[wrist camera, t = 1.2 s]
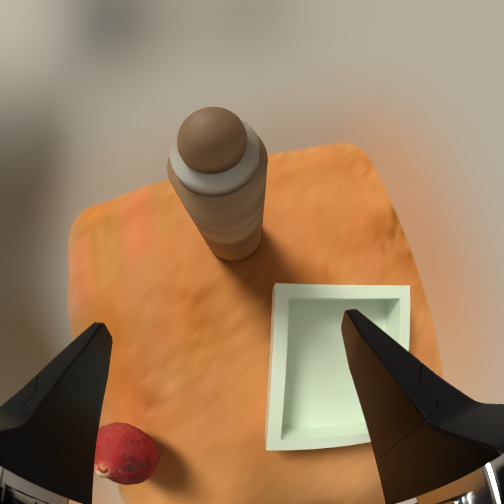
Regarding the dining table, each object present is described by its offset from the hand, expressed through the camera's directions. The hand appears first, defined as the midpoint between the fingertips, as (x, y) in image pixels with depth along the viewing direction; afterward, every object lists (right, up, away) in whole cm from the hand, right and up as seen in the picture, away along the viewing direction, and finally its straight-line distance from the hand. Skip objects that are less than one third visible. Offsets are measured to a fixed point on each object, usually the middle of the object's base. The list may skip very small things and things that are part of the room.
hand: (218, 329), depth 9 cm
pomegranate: (-9, -15, +10) cm, 20 cm away
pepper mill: (0, +4, +15) cm, 15 cm away
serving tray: (+8, -7, +12) cm, 16 cm away
